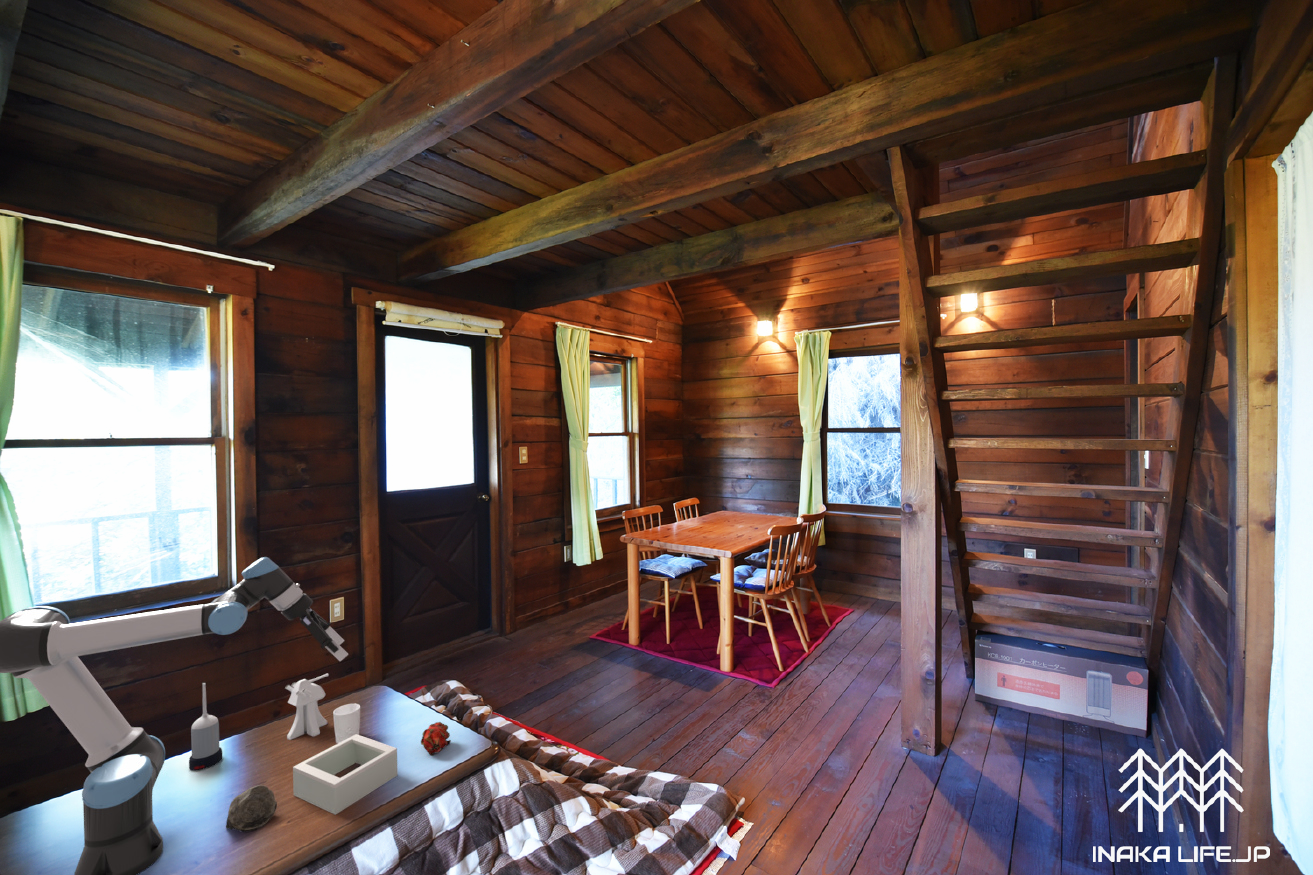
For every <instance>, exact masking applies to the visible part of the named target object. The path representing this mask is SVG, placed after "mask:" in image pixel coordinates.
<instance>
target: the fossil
mask: <svg viewBox="0 0 1313 875" xmlns="http://www.w3.org/2000/svg"><path fill="white" fill-rule="evenodd" d="M275 799H276V798H275V794H274V791H273V790H272V789H269V787H268V786H266V785H264V784H259V785H254V786H252V787H249V788H248V789H246V790H245V791H243V792H242V793H240V794H238V795H237V796H235V797H234V798H233V799H232V801H231V803H230V805H229V807H228V813H227V819H226V823H225V829H230V830H236V831H238V832H240V833H249V832H253V831H257V830H258V829H260V828H262V827H264V826H265V825H266V824H267V823H269V821H271V819H272V818H273V816H274V814H276V813H275V812H276V810H277V807H278V802H277V801H276V800H275Z"/></svg>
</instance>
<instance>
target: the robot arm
mask: <svg viewBox="0 0 1313 875" xmlns="http://www.w3.org/2000/svg"><path fill="white" fill-rule="evenodd" d="M241 576H242V577H243V579H242V580H241V581H240V582H238V583H236V585H234V586H233V587H232V588H230V589H228V590H227V591H226V592H224V593H222V594H221V595H220V596H219V597H216V598H214V600H212V601H211V602H210V603H205V604H198V605H197V604H196V605H190V606H182V607H176V608H169V609H164V610H155V611H147V612H142V613H136V614H135V613H134V614H128V615H121V616H114V617H107V618H102V619H93V620H87V621H80V622H74V623H71V620H70V617H69V616H68V615H67V614H66V613H65V612H64V611H63V610H61V609H59V608H57V607H54V606H48V605H38V606H37V605H36V606H30V607H27V608H23V609H21V610H18V611H15V612H14V613H13V612H12V614H10V615H7V616H6V617H5V618H3V619H2V620H0V674H9V673H11V675H12V676H13V677H14V678H15V679H17V678H18V679H28V680H29V681H30V683H31V684H32V685H33V686H34V688H35V689H36V690H37V691H38V693H39V694H40V695H41V696H42V698H43V699H44V700H45V702H46V703H47V705H49V707H50V708H51V709H52V711H54V713H55V714H56V715H57V717H58V718H59V719H60V721H61V722H62V723H63V724H64V726H65V727H67V728H66V729H68V730H69V732H70V733H71V735H73V737H74V738H75V739H76V740H77V742H78V743H79V744H80V746H81V747H82V749H84V751H85V752H86V753H87V754H88V757H87V759H86V762H85V763H84V766H85V767H86V768H87V770H88V771H89V772H90V774H89V775H88V776H87V777H86V779H85V781H84V782H83V789H82V791H81V792H82V793H81V797H82V801H83V802H82V803H83V804H82V805H83V807H82V808H83V809H82V810H83V837H84V844H83V845H84V846H83V850H82V852H81V853H80V857H79V860H78V862H77V865H76V867H75V871H74V874H73V875H137V874H138V873H139V874H141V873H142V872H144V871H146V870H147V869H148V868H149V866H150V867H151V866H152V865H153V864H154V863H156V861H158V859H159V858H160V857H161V855H162V854H163V851H164V840H163V837H162V835H161V833H160V831H159V830H158V828H157V826H156V824H155V821H154V818H153V816H154V815H153V791H154V790H153V789H154V786H155V784H156V782H157V779H158V777H159V775H160V772H161V771H162V769H163V766H164V764H165V758H166V749H165V746H164V743H163V741H162V740H161V739H160V738H158V737H156V736H154V735H149V734H148V733H147V732H146V731H145V730H144V728H143V727H138V726H137V727H134V726H131V725H130V723H129V722H128V721H127V719H126V718H125V717H124V715H123V714H122V713H121V712H120V710H119V709H118V708H117V707H116V705H115V703H114V702H113V701H112V700H111V699H110V697H109V696H108V695H107V693H106V692H105V689H103V688H102V687H101V686H100V684H99V683H98V681H97V680H96V679H95V677H94V675H92V673H91V672H90V671H89V669H88V668H87V667H86V665H85V664H84V663H83V661H82V660H81V659H80V658H79V657H81V656H88V655H92V654H98V653H105V652H109V651H114V650H115V651H116V650H121V649H127V648H131V647H132V648H134V647H139V646H143V645H144V646H146V645H150V644H155V643H161V642H169V641H173V640H179V639H185V638H191V637H196V636H197V637H198V636H203V635H209V634H217V635H221V636H226V635H231V634H233V633H235V632H237V631H239V629H241V628H242V627H243V625H244V624H245V622H246V621H247V617H248V611H249V610H250V609H251V608H252V607H254V606H255V605H257V604H258V603H259V602H260V601H262V600H263V599H264V598H265V599H266V600H267V601H268V602H269V603H270V604H271V605H272V606H273V607H274V608H275V609H276V610H277V611H280V613H281V614H282V616H284V617H285V618H286V619H287V620H288V621H293V620H295V619H297V618H299V621H300V624H301V625H303V626H304V628H305V629H306V630H307V631H308V632H309V633H310V634H311V635H312V636H313V637H314V639H315V640H316V641H317V642H318V643H319V644H320V649H324V648H325V649H327V651H328V652H329V653H330V654H331V655H333V656H334V658H336V659H337V661H339V662H341V661H343V660H344V659H345V658H346V657H348V656H349V653H348V652H347V651H346V650H345V649H344V648H343V647H342V646H341V645H342V644H343V643H344V642H345V639H344V638H342V636H341V635H340V634H338V633H337V631H335V629H334V628H332V627H331V625H332V623H331V622H330V621H327V620H325V619H324V618H323V617H322V616H321V615H319V614H318V613H317V612H316V611H315V610H314V609H312V608H311V605H313V602H314V601H313V599H311V598H310V596H309V595H308V594H307V593H303V590H302V589H301V588H300V587H301V584H300V583H295V582H294V581H293V580H292V579H291V578H290V577H289V576H288V575H287V574H286V572H285V571H284V570H282V568H281V567H280V566H279V565H277V564H276V563H275V562H274V561H273V560H272V559H271V558H270V557H267V556H264V557H263V556H262V557H260V558H259V559H257V560H255V561H254V562H252V563H251V564H250V565H249V566H247V567H246V568H245V569H243V571H242V572H241ZM146 868H147V869H146ZM140 872H141V873H140ZM139 874H138V875H139Z"/></svg>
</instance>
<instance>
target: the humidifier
mask: <svg viewBox="0 0 1313 875" xmlns="http://www.w3.org/2000/svg"><path fill="white" fill-rule="evenodd" d="M201 684H202V715H201V716H200V717H199V718H197V719H196V720H195V721H194V722H193V723H192V725H191V729H190V733H191V734H190V736H191V738H190V740H191V741H190V742H191V755H190V756H189V758H188V759H189V760H188V769H189V770H190V771H193V772H195V771H202V770H206V769H209V768H212V767H214V766H216V765H217V764H219V763H220V762H221V761H222V760H223V749H222V747H220V722H219V719H218V717H216V716H215V715H212V714H209V713H208V711H207V690H206V685H207V684H206V682H202V683H201Z"/></svg>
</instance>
